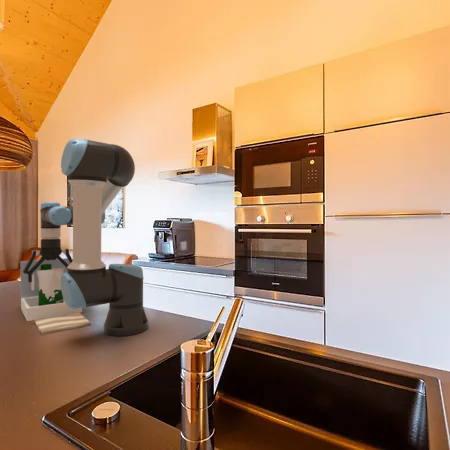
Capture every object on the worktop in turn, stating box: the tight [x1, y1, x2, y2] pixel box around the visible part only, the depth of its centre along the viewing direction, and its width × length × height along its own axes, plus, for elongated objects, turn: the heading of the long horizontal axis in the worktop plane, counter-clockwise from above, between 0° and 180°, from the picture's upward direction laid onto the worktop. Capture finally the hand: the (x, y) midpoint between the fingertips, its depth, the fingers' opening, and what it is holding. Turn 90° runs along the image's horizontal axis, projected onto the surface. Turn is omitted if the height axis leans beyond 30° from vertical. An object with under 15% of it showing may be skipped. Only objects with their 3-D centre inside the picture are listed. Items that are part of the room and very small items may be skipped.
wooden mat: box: [34, 312, 92, 335], centre depth 120 cm, size 16×16×1 cm
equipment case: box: [19, 257, 83, 322], centre depth 140 cm, size 27×20×21 cm
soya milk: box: [37, 264, 64, 306], centre depth 137 cm, size 9×9×20 cm
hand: (51, 287), depth 137 cm, fingers open, 13 cm apart
